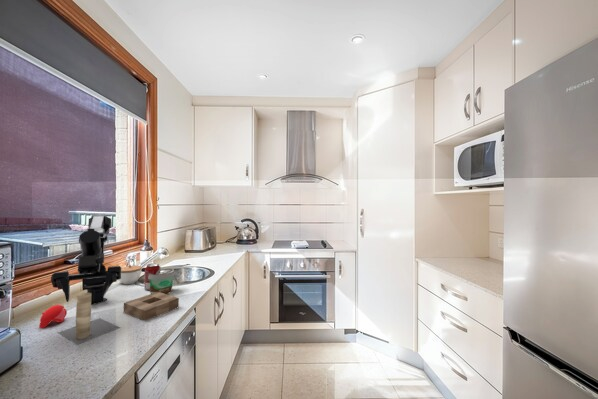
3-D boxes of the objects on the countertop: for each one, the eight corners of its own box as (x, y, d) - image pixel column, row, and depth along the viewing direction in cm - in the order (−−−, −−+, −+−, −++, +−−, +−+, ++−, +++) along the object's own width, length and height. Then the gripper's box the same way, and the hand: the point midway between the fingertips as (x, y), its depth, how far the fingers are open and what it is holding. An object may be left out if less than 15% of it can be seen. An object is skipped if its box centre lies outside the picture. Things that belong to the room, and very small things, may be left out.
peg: (73, 337, 79) (74, 295, 79) (87, 332, 82) (88, 291, 83) (78, 340, 78) (79, 297, 78) (92, 335, 81) (93, 293, 81)
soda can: (152, 291, 121) (153, 266, 121) (141, 290, 123) (141, 265, 123) (163, 286, 128) (163, 263, 128) (151, 285, 129) (152, 262, 129)
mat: (57, 333, 82) (57, 332, 82) (99, 318, 93) (100, 317, 93) (77, 346, 76) (77, 344, 76) (120, 328, 86) (120, 327, 86)
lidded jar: (146, 280, 138) (146, 263, 138) (128, 286, 127) (129, 268, 127) (130, 278, 140) (130, 261, 140) (111, 284, 130) (112, 266, 130)
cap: (56, 308, 93) (39, 306, 88) (71, 304, 93) (54, 301, 88) (49, 332, 89) (31, 330, 84) (64, 327, 89) (47, 325, 84)
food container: (154, 298, 112) (155, 276, 113) (147, 295, 116) (147, 274, 116) (179, 290, 123) (180, 270, 123) (172, 288, 126) (173, 268, 126)
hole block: (123, 312, 98) (123, 302, 98) (157, 300, 110) (158, 291, 110) (144, 321, 91) (144, 310, 91) (178, 307, 104) (178, 298, 104)
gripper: (53, 248, 83) (42, 291, 74) (121, 244, 93) (119, 281, 84) (58, 267, 89) (48, 308, 80) (121, 260, 100) (120, 297, 90)
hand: (85, 298), depth 83 cm, fingers open, 9 cm apart
